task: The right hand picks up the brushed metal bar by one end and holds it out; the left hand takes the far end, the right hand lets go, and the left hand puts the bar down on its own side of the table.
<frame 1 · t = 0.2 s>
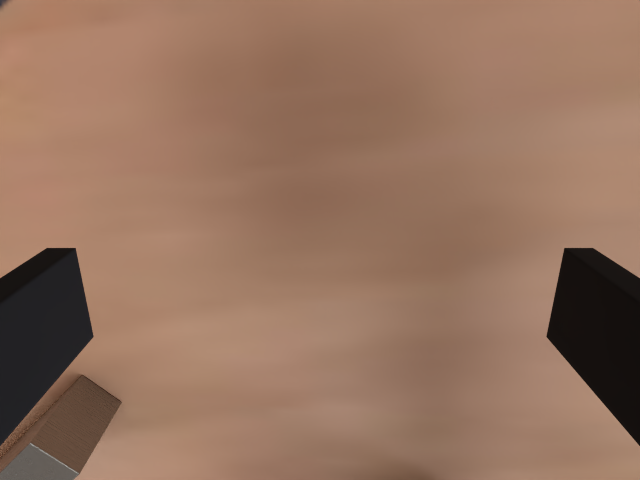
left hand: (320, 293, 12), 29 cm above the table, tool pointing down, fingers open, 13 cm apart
bar: (46, 443, 52), on the table
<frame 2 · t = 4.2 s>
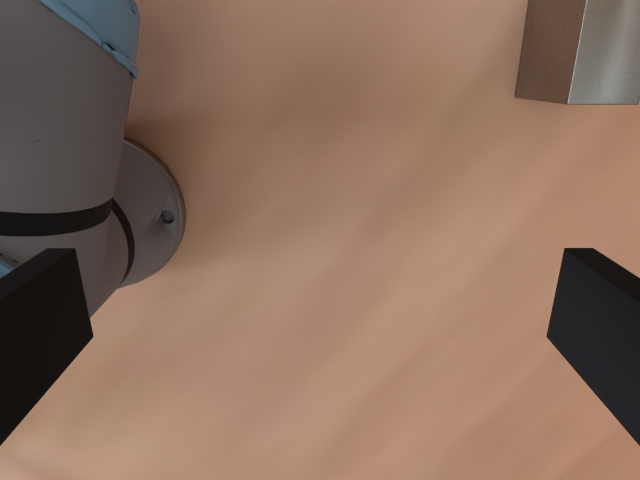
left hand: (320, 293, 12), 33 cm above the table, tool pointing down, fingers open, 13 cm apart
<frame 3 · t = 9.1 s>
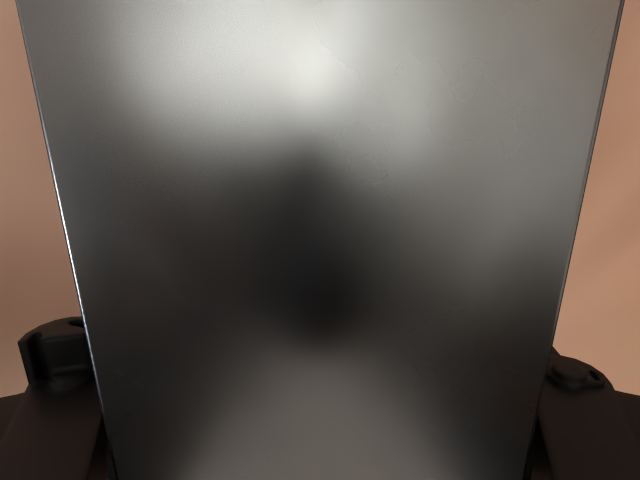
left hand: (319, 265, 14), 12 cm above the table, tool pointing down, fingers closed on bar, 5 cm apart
when the right hand's fingers open (16 cm above the table, at t = 10.1 s): bar stays where it is, held by the left hand.
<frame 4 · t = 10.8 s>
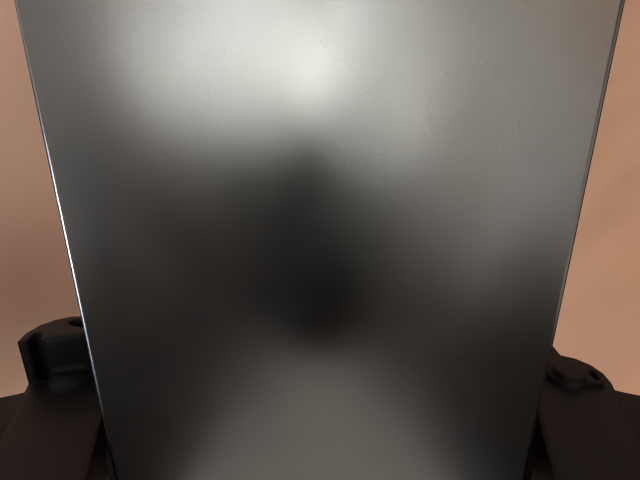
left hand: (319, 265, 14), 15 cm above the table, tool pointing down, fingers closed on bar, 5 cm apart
when the left hand's fingers open (2 cm above the table, at t = 15.4 s): bar drops 2 cm, on the table.
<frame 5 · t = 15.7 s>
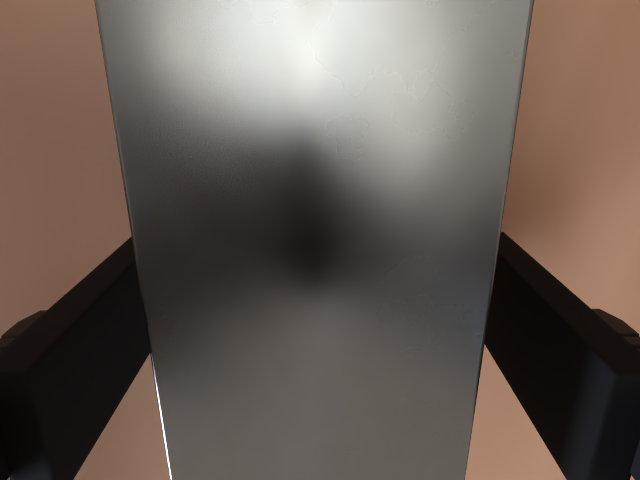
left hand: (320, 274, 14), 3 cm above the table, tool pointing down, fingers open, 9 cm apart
bar: (318, 11, 14), on the table
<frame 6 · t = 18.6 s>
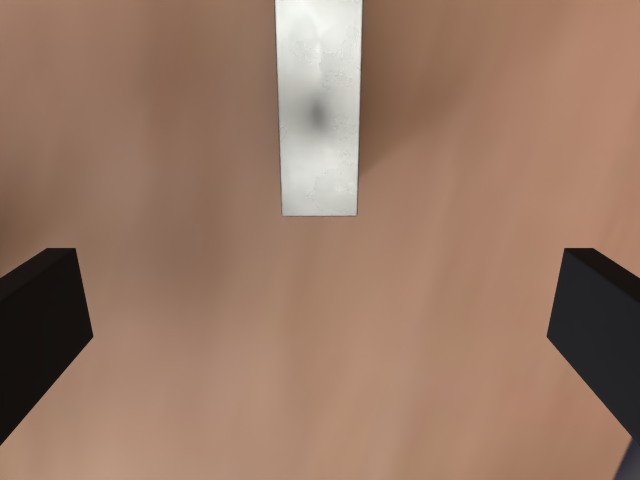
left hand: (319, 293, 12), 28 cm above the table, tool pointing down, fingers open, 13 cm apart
bar: (319, 48, 36), on the table
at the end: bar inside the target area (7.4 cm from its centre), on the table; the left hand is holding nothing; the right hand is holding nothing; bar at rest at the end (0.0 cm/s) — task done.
